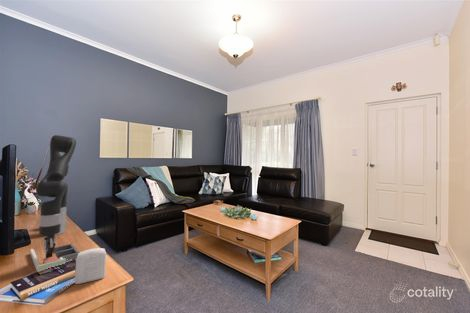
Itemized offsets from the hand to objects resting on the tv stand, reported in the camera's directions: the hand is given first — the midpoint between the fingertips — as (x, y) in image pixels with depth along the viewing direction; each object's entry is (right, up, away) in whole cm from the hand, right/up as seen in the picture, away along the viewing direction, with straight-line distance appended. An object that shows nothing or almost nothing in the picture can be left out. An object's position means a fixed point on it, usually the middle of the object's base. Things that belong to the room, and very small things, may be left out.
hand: (48, 260), depth 97 cm
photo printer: (+28, -2, -12) cm, 31 cm away
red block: (+4, -2, -3) cm, 5 cm away
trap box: (-2, -2, +6) cm, 7 cm away
